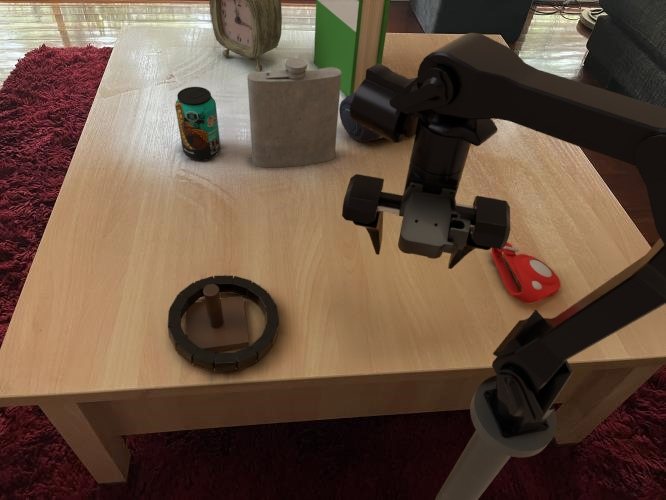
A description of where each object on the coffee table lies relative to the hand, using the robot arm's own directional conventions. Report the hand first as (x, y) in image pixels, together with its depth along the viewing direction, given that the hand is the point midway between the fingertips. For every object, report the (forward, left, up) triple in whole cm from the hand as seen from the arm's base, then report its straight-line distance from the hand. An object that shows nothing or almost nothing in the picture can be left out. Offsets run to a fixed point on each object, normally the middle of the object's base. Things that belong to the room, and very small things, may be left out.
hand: (413, 259), depth 67 cm
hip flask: (+39, +9, -13) cm, 42 cm away
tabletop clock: (+79, +13, -13) cm, 81 cm away
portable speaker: (+47, -14, -13) cm, 51 cm away
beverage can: (+44, +26, -13) cm, 53 cm away
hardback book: (+69, -8, -13) cm, 71 cm away
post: (+3, +26, -13) cm, 29 cm away
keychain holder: (+4, -21, -11) cm, 24 cm away
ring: (+3, +25, -12) cm, 27 cm away
